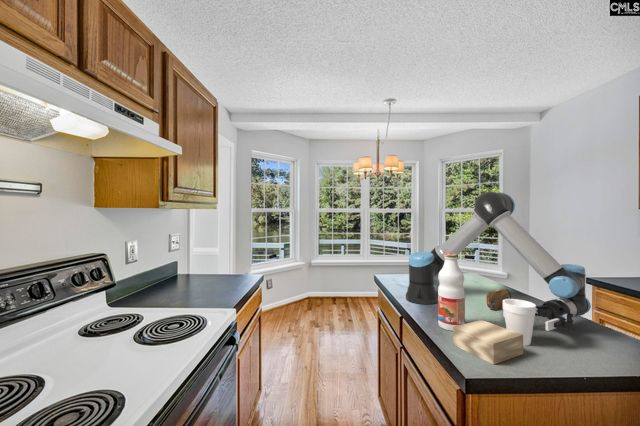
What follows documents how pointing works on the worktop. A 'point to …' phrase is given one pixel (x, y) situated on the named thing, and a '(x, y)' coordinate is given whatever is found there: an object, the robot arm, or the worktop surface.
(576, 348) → the worktop surface
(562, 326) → the robot arm
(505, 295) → the tin
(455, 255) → the fruit juice
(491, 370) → the worktop surface
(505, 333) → the maple block
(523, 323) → the foam cup
